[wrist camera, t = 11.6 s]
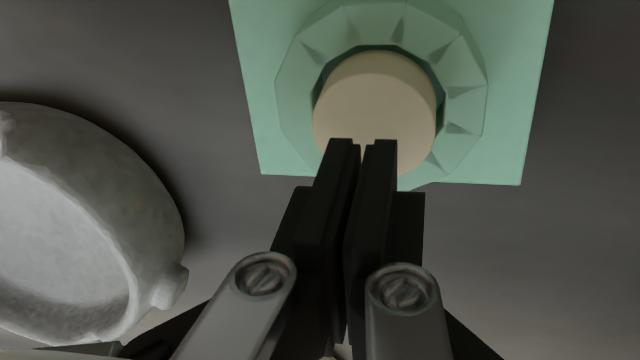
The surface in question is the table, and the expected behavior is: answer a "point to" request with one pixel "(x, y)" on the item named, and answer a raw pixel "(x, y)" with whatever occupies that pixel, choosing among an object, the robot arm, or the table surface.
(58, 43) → the table surface
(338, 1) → the button panel
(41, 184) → the dish
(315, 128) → the button
